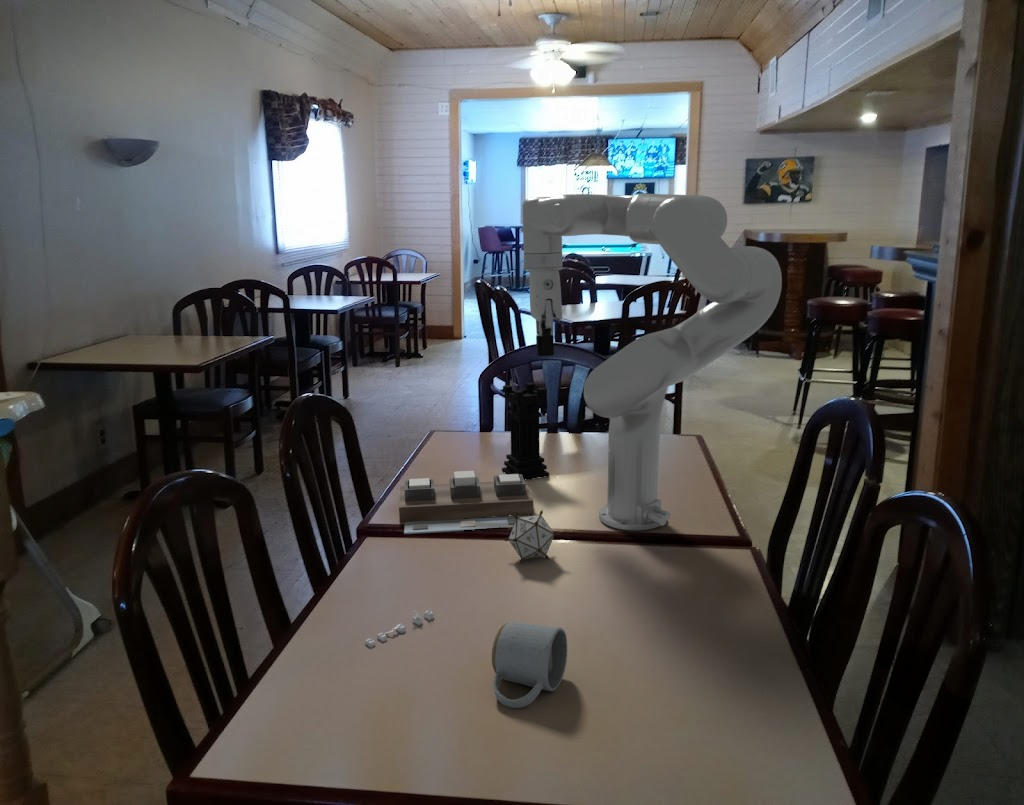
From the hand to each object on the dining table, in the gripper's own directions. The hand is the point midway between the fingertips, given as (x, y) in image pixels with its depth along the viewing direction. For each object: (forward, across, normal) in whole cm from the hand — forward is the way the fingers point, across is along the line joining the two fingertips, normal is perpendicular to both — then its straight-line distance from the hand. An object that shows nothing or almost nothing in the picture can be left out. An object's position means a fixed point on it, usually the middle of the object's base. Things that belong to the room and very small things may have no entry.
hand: (545, 354), depth 161 cm
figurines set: (+31, -49, +31) cm, 66 cm away
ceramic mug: (+31, -66, +15) cm, 75 cm away
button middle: (+25, -3, +18) cm, 31 cm away
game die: (+30, -29, +8) cm, 43 cm away
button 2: (+26, -4, +9) cm, 28 cm away
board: (+30, -6, +18) cm, 35 cm away
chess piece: (+30, +15, +2) cm, 33 cm away
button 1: (+26, -3, +27) cm, 37 cm away
